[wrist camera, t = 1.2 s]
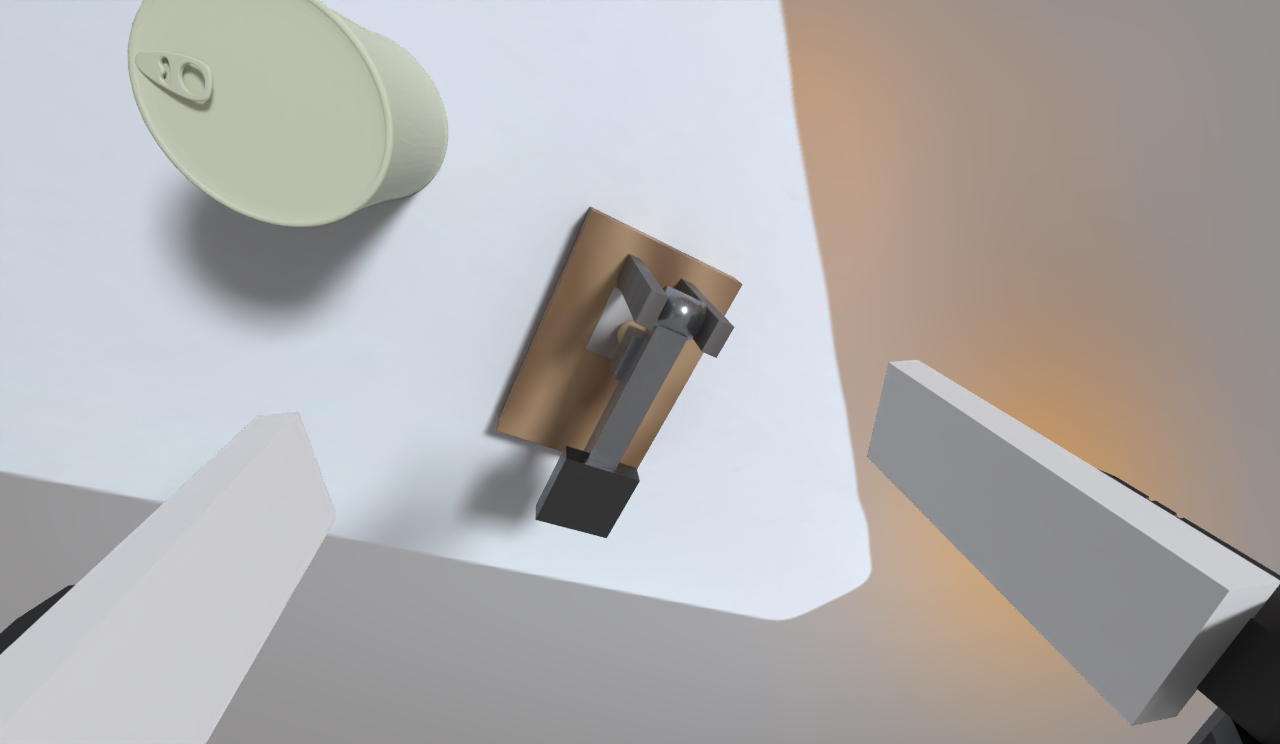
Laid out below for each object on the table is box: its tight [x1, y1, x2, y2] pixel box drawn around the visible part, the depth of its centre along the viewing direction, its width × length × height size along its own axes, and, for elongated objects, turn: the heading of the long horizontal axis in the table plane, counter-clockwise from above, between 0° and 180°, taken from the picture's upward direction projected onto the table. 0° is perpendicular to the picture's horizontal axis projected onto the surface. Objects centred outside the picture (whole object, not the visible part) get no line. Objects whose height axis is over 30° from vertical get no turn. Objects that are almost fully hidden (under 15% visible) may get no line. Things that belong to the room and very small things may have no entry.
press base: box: [496, 207, 742, 468], centre depth 33 cm, size 12×18×11 cm, turn 153°
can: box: [128, 0, 448, 227], centre depth 24 cm, size 9×9×12 cm
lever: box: [536, 286, 706, 538], centre depth 31 cm, size 5×17×4 cm, turn 153°
